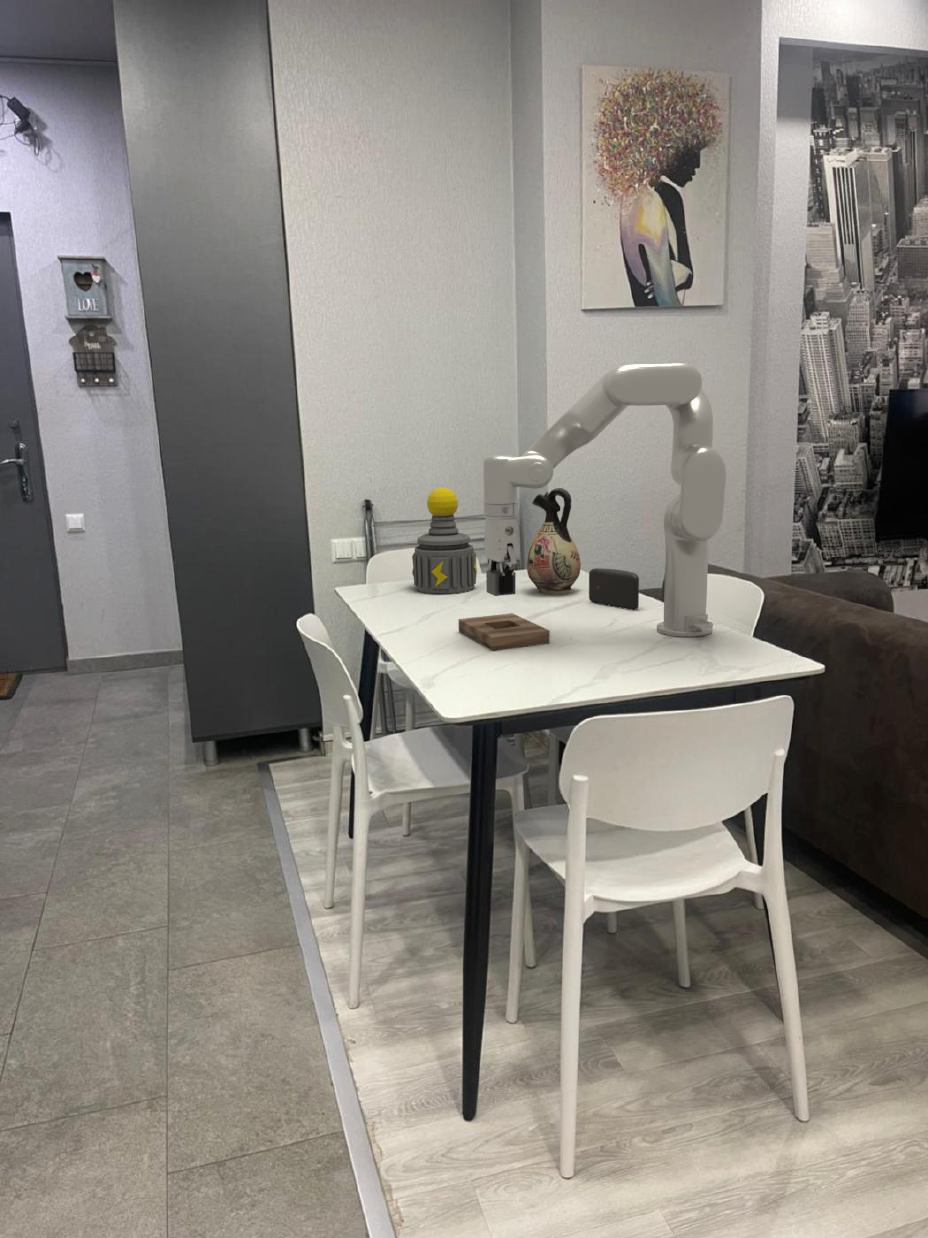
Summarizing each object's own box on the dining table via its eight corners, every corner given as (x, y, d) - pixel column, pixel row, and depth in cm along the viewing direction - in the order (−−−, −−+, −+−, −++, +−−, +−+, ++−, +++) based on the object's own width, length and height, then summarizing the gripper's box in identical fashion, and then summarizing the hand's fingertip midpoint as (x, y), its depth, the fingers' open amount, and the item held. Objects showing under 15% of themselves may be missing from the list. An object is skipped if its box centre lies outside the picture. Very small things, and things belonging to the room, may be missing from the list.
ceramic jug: (515, 593, 256) (514, 488, 249) (548, 585, 267) (548, 484, 260) (563, 600, 245) (563, 490, 238) (595, 591, 256) (596, 486, 249)
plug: (515, 594, 202) (515, 563, 201) (495, 596, 201) (495, 565, 199) (506, 590, 207) (506, 560, 205) (486, 592, 205) (486, 562, 204)
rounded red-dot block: (646, 608, 232) (647, 573, 230) (635, 611, 229) (636, 575, 227) (598, 600, 244) (598, 566, 242) (587, 602, 241) (587, 568, 239)
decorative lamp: (408, 595, 258) (403, 490, 251) (419, 582, 276) (416, 485, 269) (472, 595, 255) (470, 489, 249) (480, 582, 273) (477, 484, 267)
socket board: (549, 643, 199) (549, 630, 199) (492, 650, 194) (491, 637, 194) (512, 625, 218) (512, 613, 217) (458, 631, 213) (458, 619, 212)
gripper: (532, 513, 193) (532, 596, 197) (500, 506, 209) (500, 583, 213) (500, 515, 190) (501, 599, 195) (470, 508, 206) (471, 586, 210)
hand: (501, 590), depth 204 cm, fingers closed on plug, 5 cm apart
